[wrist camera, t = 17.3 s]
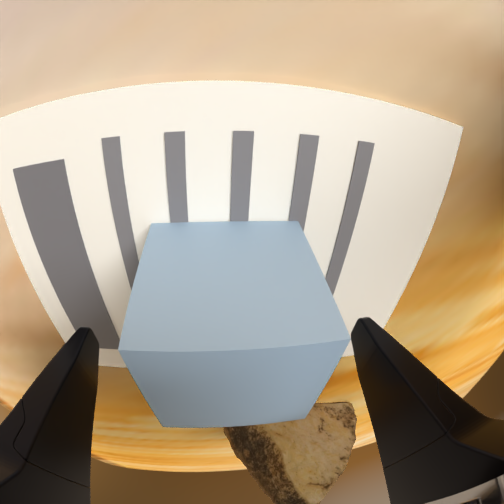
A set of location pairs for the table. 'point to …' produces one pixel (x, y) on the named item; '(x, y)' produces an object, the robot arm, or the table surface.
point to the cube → (230, 324)
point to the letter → (218, 187)
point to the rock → (297, 452)
